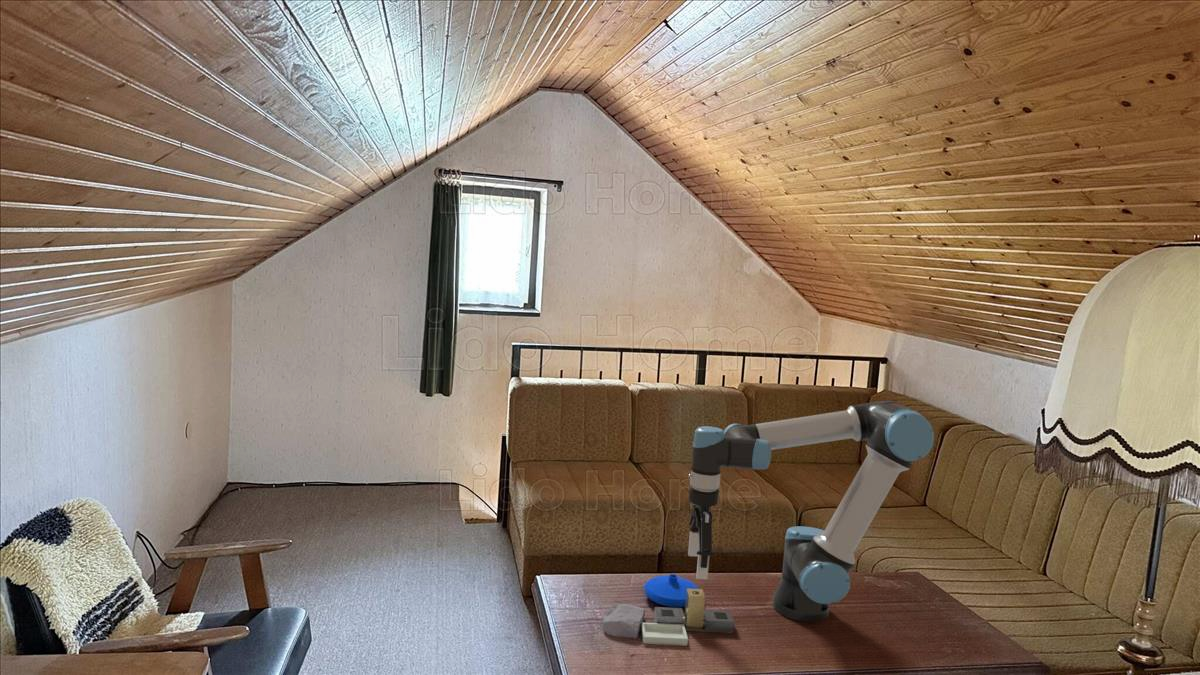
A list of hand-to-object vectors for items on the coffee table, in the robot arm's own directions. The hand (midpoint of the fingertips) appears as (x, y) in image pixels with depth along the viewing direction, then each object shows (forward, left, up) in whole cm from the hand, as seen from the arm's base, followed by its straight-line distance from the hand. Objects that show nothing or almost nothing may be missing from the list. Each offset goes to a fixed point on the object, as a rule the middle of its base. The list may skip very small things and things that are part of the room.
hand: (697, 566), depth 187 cm
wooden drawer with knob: (0, 0, -16) cm, 16 cm away
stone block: (+18, +2, -17) cm, 25 cm away
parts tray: (+8, +7, -16) cm, 19 cm away
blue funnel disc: (+4, -14, -16) cm, 22 cm away
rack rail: (0, 0, -16) cm, 16 cm away
